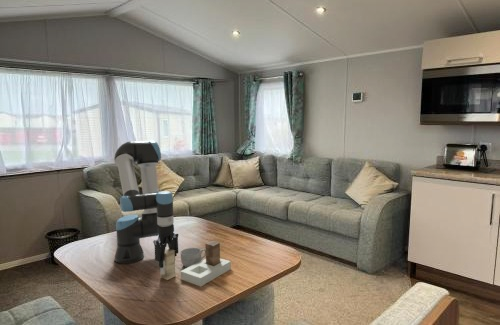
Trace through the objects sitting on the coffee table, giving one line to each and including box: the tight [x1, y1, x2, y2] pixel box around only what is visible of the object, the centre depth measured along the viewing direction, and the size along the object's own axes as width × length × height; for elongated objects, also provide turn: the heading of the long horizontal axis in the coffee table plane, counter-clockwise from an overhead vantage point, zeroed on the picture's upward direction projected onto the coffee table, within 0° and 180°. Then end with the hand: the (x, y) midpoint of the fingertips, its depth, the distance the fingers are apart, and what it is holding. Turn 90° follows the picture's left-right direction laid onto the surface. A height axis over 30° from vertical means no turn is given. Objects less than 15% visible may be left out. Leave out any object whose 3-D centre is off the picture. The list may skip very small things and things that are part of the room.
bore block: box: [179, 257, 232, 287], centre depth 164 cm, size 13×22×4 cm, turn 145°
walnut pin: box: [204, 240, 221, 266], centre depth 168 cm, size 5×5×13 cm
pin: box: [159, 247, 176, 281], centre depth 161 cm, size 5×5×13 cm
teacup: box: [179, 247, 206, 268], centre depth 175 cm, size 14×11×8 cm
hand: (167, 271), depth 161 cm, fingers closed on pin, 5 cm apart
